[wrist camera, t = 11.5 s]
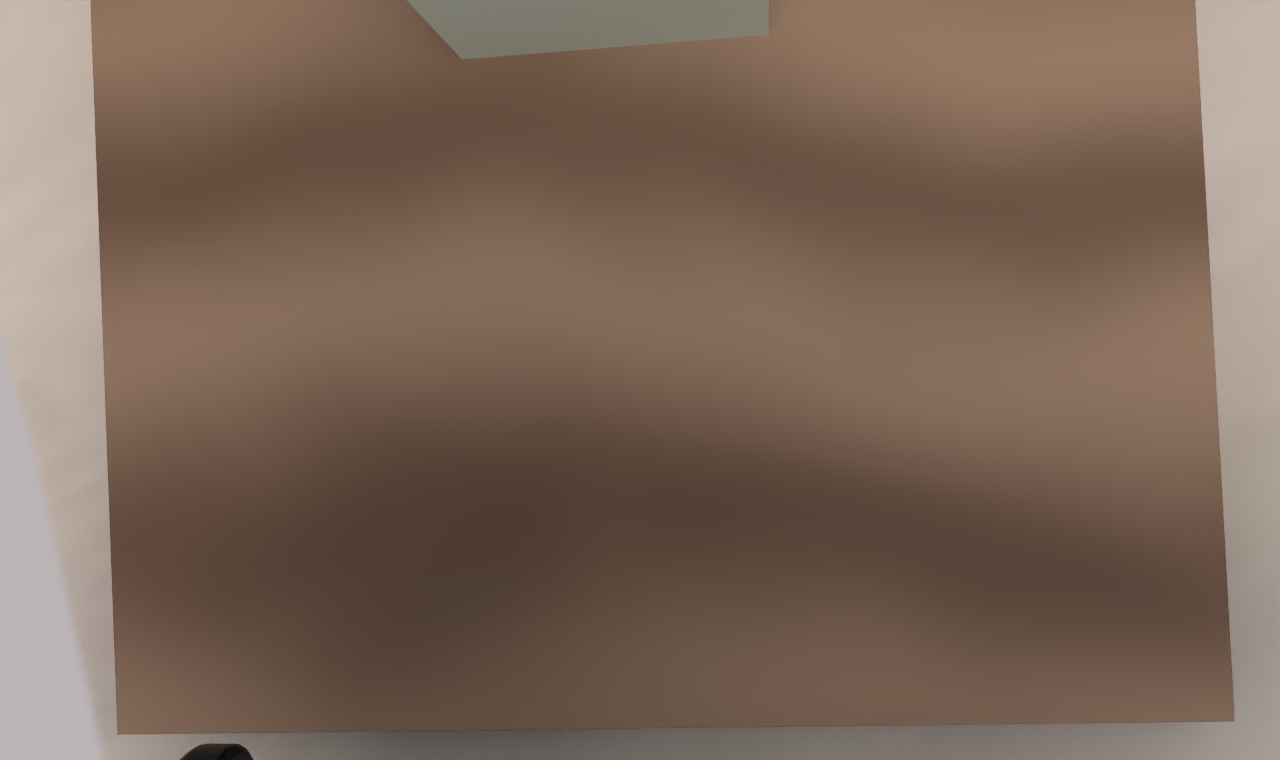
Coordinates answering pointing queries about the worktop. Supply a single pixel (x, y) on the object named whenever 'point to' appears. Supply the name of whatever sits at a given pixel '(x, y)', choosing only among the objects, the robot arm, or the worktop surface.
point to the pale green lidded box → (585, 23)
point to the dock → (659, 371)
